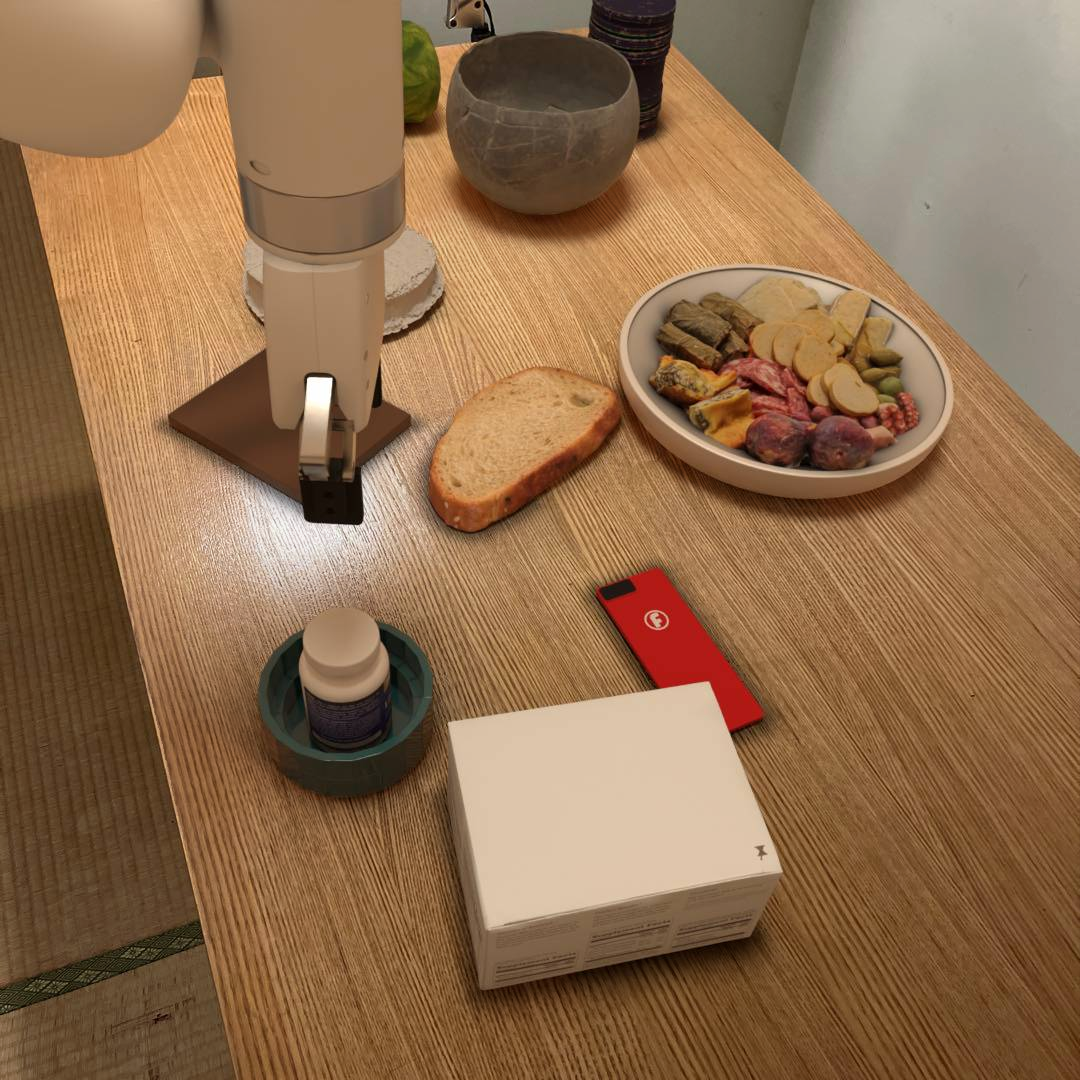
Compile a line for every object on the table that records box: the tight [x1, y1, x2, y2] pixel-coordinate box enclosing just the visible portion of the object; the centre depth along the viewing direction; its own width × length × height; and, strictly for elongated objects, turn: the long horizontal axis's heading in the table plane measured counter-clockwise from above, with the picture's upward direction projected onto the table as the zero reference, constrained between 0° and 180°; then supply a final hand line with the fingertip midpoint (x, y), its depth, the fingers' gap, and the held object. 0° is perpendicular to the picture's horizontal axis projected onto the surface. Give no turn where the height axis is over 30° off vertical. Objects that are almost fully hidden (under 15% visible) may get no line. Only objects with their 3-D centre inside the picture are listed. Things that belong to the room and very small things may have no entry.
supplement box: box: [446, 681, 784, 991], centre depth 65 cm, size 17×13×9 cm
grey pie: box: [241, 224, 446, 337], centre depth 105 cm, size 20×20×7 cm
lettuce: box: [402, 19, 442, 124], centre depth 125 cm, size 12×21×11 cm, turn 111°
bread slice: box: [427, 365, 623, 533], centre depth 92 cm, size 18×18×4 cm
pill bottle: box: [299, 606, 392, 753], centre depth 70 cm, size 6×6×10 cm
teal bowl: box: [256, 619, 434, 798], centre depth 72 cm, size 11×11×5 cm
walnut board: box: [167, 347, 412, 505], centre depth 93 cm, size 16×13×1 cm
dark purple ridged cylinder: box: [587, 0, 677, 143], centre depth 127 cm, size 10×10×18 cm
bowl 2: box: [617, 263, 955, 500], centre depth 97 cm, size 30×30×8 cm
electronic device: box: [595, 567, 765, 734], centre depth 79 cm, size 6×1×15 cm
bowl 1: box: [445, 30, 640, 216], centre depth 116 cm, size 20×20×15 cm
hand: (345, 458), depth 62 cm, fingers open, 9 cm apart
